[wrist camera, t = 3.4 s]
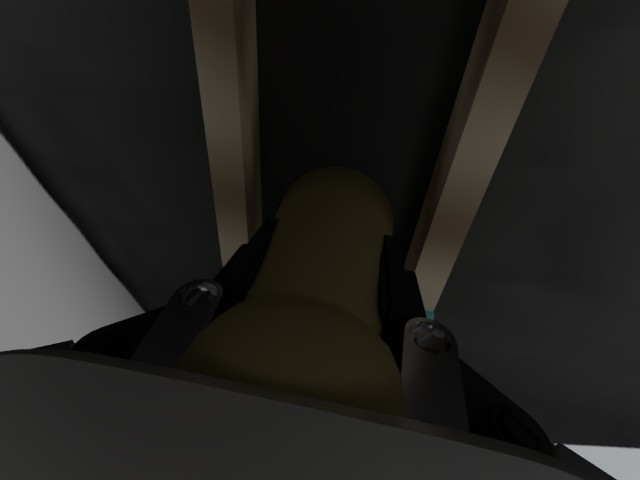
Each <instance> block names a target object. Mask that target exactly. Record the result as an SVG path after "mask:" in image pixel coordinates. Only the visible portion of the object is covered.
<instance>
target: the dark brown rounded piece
mask: <svg viewBox="0 0 640 480" xmlns="http://www.w3.org/2000/svg"><path fill="white" fill-rule="evenodd" d="M275 218H277V219H279V220H278V223H277V225H276V227H275V229H274V231H273V233H272V237H271V241H270V244H269V248H268V251H267V253H266V255H265V258H264V260H263V262H262V264H261V266H260V268H259V270H258V272H257V274H256V277H255V279H254V281H253V283H252V286H251V288H250V290H249V291H248V293H247V294H246V296H245V298H244V300H243V302H241V303H238V304H236V305H235V306H233V307H232V308H230V309H229V310H227V311H226V312H224V313H222V314H221V315H219V316H218V317H217V318H216V319H214V320H213V321H212V322H211V323H210V324H209V325H208V326H206V327H205V328H204V329H203V330H202V331H201V332H200V333H198V335H197V336H196V338H195V339H194V340H193V342H192V343H191V345H190V346H189V347H188V349H187V350H186V352H185V353H184V354H183V356H182V357H181V359H180V361H179V363H178V366H177V368H176V369H178V370H183V371H187V372H192V373H197V374H202V375H207V376H212V377H216V378H221V379H226V380H231V381H235V382H240V383H245V384H250V385H254V386H259V387H264V388H269V389H273V390H278V391H283V392H287V393H292V394H297V395H301V396H306V397H311V398H315V399H320V400H325V401H329V402H334V403H339V404H343V405H348V406H352V407H357V408H362V409H366V410H371V411H375V412H380V413H384V414H389V415H394V416H398V417H403V418H405V414H406V405H405V397H404V390H403V382H402V377H401V375H400V372H399V369H398V366H397V364H396V361H395V359H394V357H393V354H392V352H391V349H390V347H389V346H388V345H387V344H386V343H385V342H384V341H383V340H382V339H381V333H382V324H381V321H380V319H379V298H380V256H381V253H382V248H383V243H384V235H389V236H393V223H394V213H393V210H392V207H391V203H390V200H389V198H388V196H387V195H386V194H385V192H384V191H383V190H382V188H381V187H380V186H379V184H378V183H377V182H375V181H374V180H372V179H371V178H369V177H368V176H367V175H365V174H364V173H362V172H360V171H357V170H353V169H350V168H346V167H342V166H334V167H320V168H317V169H315V170H312V171H310V172H307V173H304V174H303V175H302V176H300V177H299V178H298V179H297V180H296V181H294V182H293V183H292V184H291V185H290V186H289V188H288V189H287V191H286V193H285V195H284V197H283V198H282V200H281V203H280V205H279V208H278V210H277V213H276V216H275Z"/></svg>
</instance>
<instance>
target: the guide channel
mask: <svg viewBox="0 0 640 480" xmlns="http://www.w3.org/2000/svg"><path fill="white" fill-rule="evenodd" d="M188 3H189V11H190V19H191V27H192V34H193V42H194V50H195V58H196V65H197V73H198V81H199V88H200V96H201V104H202V112H203V119H204V127H205V135H206V142H207V150H208V158H209V166H210V173H211V181H212V189H213V196H214V204H215V212H216V220H217V227H218V235H219V243H220V250H221V258H222V266H223V267H224V266H225V264H226V263H227V262H228V261H229V259H230V258H231V257H232V256H233V254H234V253H235V252H236V251H237V249H238V248H239V247H240V246H241V245H242V244H247V243H248V242H249V241H250V239H251V238H252V237H253V235H254V234H255V233H256V232H257V230H258V229H259V228H260V226H261V225H262V196H261V161H260V127H259V93H258V59H257V25H256V0H188ZM567 3H568V0H487V2H486V5H485V8H484V11H483V14H482V18H481V21H480V24H479V27H478V30H477V34H476V37H475V40H474V43H473V46H472V49H471V53H470V56H469V59H468V62H467V65H466V69H465V72H464V75H463V78H462V81H461V85H460V88H459V91H458V94H457V97H456V101H455V104H454V107H453V110H452V113H451V117H450V120H449V123H448V126H447V129H446V133H445V136H444V139H443V142H442V145H441V149H440V152H439V155H438V158H437V161H436V165H435V168H434V171H433V174H432V177H431V180H430V184H429V187H428V190H427V193H426V196H425V200H424V203H423V206H422V209H421V212H420V216H419V219H418V222H417V225H416V228H415V232H414V235H413V238H412V241H411V244H410V248H409V251H408V254H407V257H406V260H405V264H404V268H405V270H409V271H414V272H415V273H416V277H417V281H418V285H419V289H420V292H421V296H422V300H423V304H424V308H425V312H426V316H427V318H429V319H432V320H433V319H434V317H435V315H434V312H433V311H434V309H435V307H436V305H437V302H438V300H439V298H440V295H441V293H442V291H443V288H444V286H445V284H446V282H447V279H448V277H449V275H450V272H451V270H452V268H453V265H454V263H455V261H456V258H457V256H458V254H459V252H460V249H461V247H462V245H463V242H464V240H465V238H466V235H467V233H468V231H469V229H470V226H471V224H472V222H473V219H474V217H475V215H476V212H477V210H478V208H479V205H480V203H481V201H482V199H483V196H484V194H485V192H486V189H487V187H488V185H489V182H490V180H491V178H492V175H493V173H494V171H495V169H496V166H497V164H498V162H499V159H500V157H501V155H502V152H503V150H504V148H505V146H506V143H507V141H508V139H509V136H510V134H511V132H512V129H513V127H514V125H515V122H516V120H517V118H518V116H519V113H520V111H521V109H522V106H523V104H524V102H525V99H526V97H527V95H528V93H529V90H530V88H531V86H532V83H533V81H534V79H535V76H536V74H537V72H538V69H539V67H540V65H541V63H542V60H543V58H544V56H545V53H546V51H547V49H548V46H549V44H550V42H551V39H552V37H553V35H554V33H555V30H556V28H557V26H558V23H559V21H560V19H561V16H562V14H563V12H564V10H565V7H566V5H567Z"/></svg>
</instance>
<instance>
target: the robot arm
mask: <svg viewBox="0 0 640 480" xmlns="http://www.w3.org/2000/svg"><path fill="white" fill-rule="evenodd" d="M278 220H279V219H277V218H270V217H268V218H267V219H266V220H265V221H264V222H263V224H262V225H261V226H260V228H259V229H258V230H257V232H256V233H255V234H254V235H253V237H252V238H251V239H250V241H249V242H248V243H247V244H242V245H241V246H240V247H239V248H238V249H237V251H236V252H235V253H234V254H233V256H232V257H231V258H230V259H229V261H228V262H227V263H226V264H225V266H224V267H223V268H222V269H221V271H220V272H219V273H218V274H217V276H216V277H215V278H214V279H213V280H210V279H198V280H194V281H191V282H188V283H186V284H184V285H182V286H181V287H179V288H178V289H177V290H176V291H175V293H174V294H173V295H172V297H171V298H170V300H169V301H168V303H167V304H166V306H164V307H161V308H158V309H155V310H152V311H149V312H146V313H143V314H140V315H137V316H134V317H131V318H128V319H125V320H122V321H119V322H116V323H113V324H110V325H107V326H104V327H102V328H99V329H97V330H94V331H92V332H90V333H89V334H87V335H85V336H84V337H82V338H81V339H80V340H79V341H78V342H76V343H74V342H73V340H70V341H65V342H60V343H56V344H52V345H47V346H42V347H37V348H33V349H22V350H21V349H20V350H10V351H3V352H0V480H616V479H615V478H613V477H612V476H610V475H609V474H607V473H606V472H604V471H603V470H601V469H600V468H598V467H596V466H595V465H593V464H592V463H590V462H589V461H587V460H585V459H584V458H583V457H581V456H580V455H578V454H577V453H575V452H573V451H572V450H570V449H569V448H567V447H566V446H564V445H563V444H561V443H560V442H559V443H558V444H557V445H554V444H553V443H551V442H550V441H549V439H548V437H547V435H546V433H545V432H544V431H543V429H542V428H541V427H540V425H539V424H538V423H537V422H536V421H535V420H534V419H533V418H532V417H531V416H530V415H529V414H527V413H526V412H525V411H524V410H522V409H521V408H520V407H519V406H517V405H516V404H515V403H514V402H513V401H511V400H510V399H509V398H508V397H506V396H505V395H504V394H503V393H501V392H500V391H499V390H498V389H497V388H495V387H494V386H493V385H492V384H490V383H489V382H488V381H487V380H485V379H484V378H483V377H482V376H480V375H479V374H478V373H477V372H476V371H474V370H473V369H472V368H471V367H469V366H468V365H467V364H466V363H464V362H463V361H462V360H461V359H460V358H459V354H458V347H457V343H456V340H455V338H454V336H453V335H452V333H451V332H450V331H449V330H448V329H447V328H446V327H445V326H443V325H442V324H440V323H439V322H437V321H434V320H432V319H429V318H427V316H426V312H425V308H424V304H423V300H422V296H421V292H420V289H419V285H418V281H417V277H416V273H415V272H414V271H409V270H405V268H404V263H403V258H402V253H401V248H400V243H399V238H398V237H396V236H389V235H384V243H383V248H382V253H381V256H380V298H379V319H380V321H381V324H382V333H381V339H382V340H383V341H384V342H385V343H386V344H387V345H388V346H389V347H390V349H391V352H392V354H393V357H394V359H395V361H396V364H397V366H398V369H399V372H400V375H401V377H402V382H403V390H404V397H405V405H406V414H405V418H403V417H398V416H394V415H389V414H384V413H380V412H375V411H371V410H366V409H362V408H357V407H352V406H348V405H343V404H339V403H334V402H329V401H325V400H320V399H315V398H311V397H306V396H301V395H297V394H292V393H287V392H283V391H278V390H273V389H269V388H264V387H259V386H254V385H250V384H245V383H240V382H235V381H231V380H226V379H221V378H216V377H212V376H207V375H202V374H197V373H192V372H187V371H183V370H178V369H176V368H177V366H178V363H179V361H180V359H181V357H182V356H183V354H184V353H185V352H186V350H187V349H188V347H189V346H190V345H191V343H192V342H193V340H194V339H195V338H196V336H197V335H198V333H200V332H201V331H202V330H203V329H204V328H205V327H206V326H208V325H209V324H210V323H211V322H212V321H213V320H214V319H216V318H217V317H218V316H219V315H221V314H222V313H224V312H226V311H227V310H229V309H230V308H232V307H233V306H235V305H236V304H238V303H241V302H243V300H244V298H245V296H246V294H247V293H248V291H249V290H250V288H251V286H252V283H253V281H254V279H255V277H256V274H257V272H258V270H259V268H260V266H261V264H262V262H263V260H264V258H265V255H266V253H267V251H268V248H269V244H270V241H271V237H272V233H273V231H274V229H275V227H276V225H277V223H278Z"/></svg>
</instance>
